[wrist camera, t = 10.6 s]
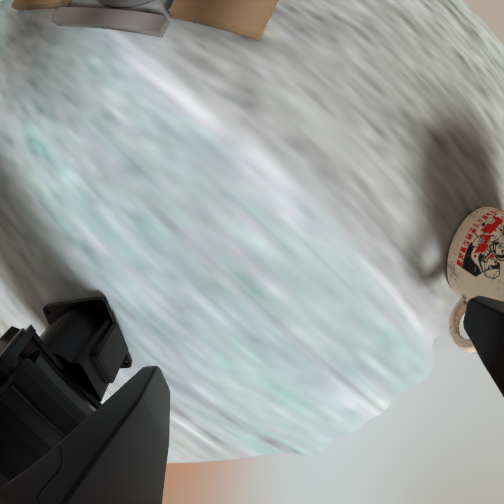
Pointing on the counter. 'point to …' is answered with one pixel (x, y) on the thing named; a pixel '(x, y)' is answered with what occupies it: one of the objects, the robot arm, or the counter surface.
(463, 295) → the teacup with lid
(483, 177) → the counter surface
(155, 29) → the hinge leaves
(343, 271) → the counter surface
